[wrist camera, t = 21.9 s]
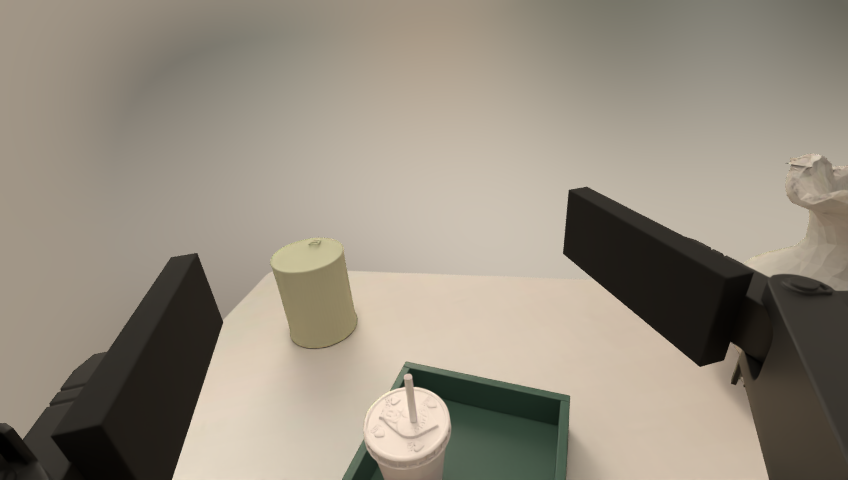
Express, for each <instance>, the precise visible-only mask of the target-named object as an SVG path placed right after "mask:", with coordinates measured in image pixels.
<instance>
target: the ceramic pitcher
mask: <svg viewBox="0 0 848 480" xmlns="http://www.w3.org/2000/svg"><path fill="white" fill-rule="evenodd" d="M788 164H791V168H790V170H789V173H788V175H787V177H786V185H785V188H786V192H787V196H788V197H789V199H790V201H791V202H792V203H794V204H797V205H799V206H801V207H804V208H806V209H809V224H808V228H807V233H806V237H805V238H804V239H803V240H802V241H800V242H799V243H798V244H797V245H795V246H791V247H787V248H783V249H779V250H774V251H769V252H766V253H763V254H760V255H757V256H755V257H753V258H751V259H749V260H748V261H746V262H745V263H744V265H746V266H748V267H750V268H752V269H754V270H756V271H758V272H760V273H762V274H764V275H766V276H768V277H771V276H772V275H777V274H795V275H800V276H805V277H809V278H812V279H815V280H818V281H820V282H822V283H824V284H827V285H828V286H830V287H832V288H833V289H834V290H835V291H848V165H847V166H844V167H837V166H836V167H832V164H831V163H830V162H829V161H828V160H827V158H825V157H823V156H821V155H818V154H812V153H810V154H805V155H803V156H802V157H799V158H790V163H788ZM734 345H735V344H734ZM735 347H736V349H737V351H738V352H739V354H741V351H742V349H740V348H739V347H738V346H736V345H735ZM740 379H741V381H742V382H743V383H744V380H743V377H741V378H740Z"/></svg>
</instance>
